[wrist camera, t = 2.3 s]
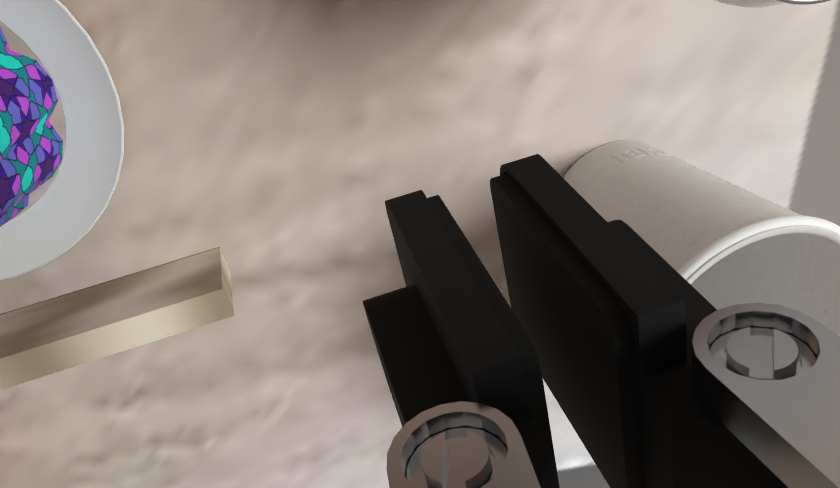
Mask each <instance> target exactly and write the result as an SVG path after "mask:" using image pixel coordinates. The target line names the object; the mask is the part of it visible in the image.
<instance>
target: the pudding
mask: <svg viewBox="0 0 840 488" xmlns="http://www.w3.org/2000/svg"><path fill="white" fill-rule="evenodd" d="M0 21H1V22H3V23H4V24H5V25H6V26H8V27H9V28H10V29H11V30H12V31H13V32H15V33H16V34H17V35H18V36H19V37H20V38H22V39H23V40H24V41H25V43H26V44H27V45H28V46H29V47H30V48H31V49H32V51H33V52H34V53H35V54H36V55H37V56H38V57H39V58H40V60H41V62H42V63H43V65H44V66H45V68H46V69H47V71H48V73H49V74H50V76H51V77H52V79H53V81H54V84H55V86H56V88H57V91H58V93H59V96H60V98H61V101H62V105H63V110H64V114H65V119H66V146H65V151H64V157H63V161H62V145H63V141H62V139H61V138H60V136H59V135H58V134H57V132H56V131H55V130H54V128H53V127H52V125H51V124H50V123H49V118H50V116H51V114H52V112H53V110H54V108H55V106H56V103H57V101H58V100H57V97H56V93H55V90H54V86H53V83H52V79H51V78H50V77H49V76H48V74H47V73H46V72H45V71H44V69H43V68H42V67H41V66H40V64H39V63H38V62H37V61H36V60H34V59H31V58H28V57H26V56H23V55H21V54H18V53H16V52H13V51H10V50H9V47H8V45H7V42H6V40H5V37H4V35H3V32H2V30H1V27H0V281H1V280H5V279H9V278H12V277H16V276H19V275H22V274H24V273H26V272H29V271H31V270H34V269H36V268H38V267H41V266H43V265H45V264H47V263H49V262H50V261H52V260H53V259H55V258H56V257H58V256H59V255H61V254H63V253H64V252H66V251H67V250H69V249H70V248H71V247H72V246H73V245H75V244H76V243H77V242H78V241H79V240H80V239H81V238H82V237H83V236H84V235H85V234H86V233H87V232H89V231H90V230H91V228H92V227H93V225H94V224H95V223H96V221H97V220H98V219H99V217H100V216H101V214H102V213H103V212H104V210H105V209H106V207H107V205H108V203H109V201H110V199H111V196H112V194H113V192H114V190H115V187H116V185H117V183H118V179H119V174H120V170H121V165H122V161H123V156H124V124H123V118H122V113H121V107H120V102H119V96H118V94H117V91H116V88H115V86H114V83H113V80H112V78H111V75H110V73H109V70H108V67H107V65H106V63H105V62H104V60H103V58H102V57H101V55H100V53H99V51H98V50H97V48H96V46H95V45H94V43H93V41H92V40H91V38H90V36H89V35H88V34H87V32H86V31H85V30H84V29H83V27H82V26H81V25H80V24H79V23H78V21H77V20H76V19H75V18H74V17H73V15H72V14H71V13H70V12H69V11H68V9H67V8H66V7H65V6H64V5H63V4H62V3H61V2H60V1H58V0H0ZM61 161H62V164H61V166H60V168H59V171H58V173H57V176H56V178H55V180H54V181H53V182H52V184H51V185H50V187H49V188H48V190H47V191H46V193H45V194H44V195H43V196H42V197H41V198H40V199H39V200H38V201H37V202H36V203H35V204H34V205H33V206H32V207H30V208H29V209H28V210H26V211H24V212H23V213H21V214H20V215H18V216H17V217H15V218H14V219H12V218H13V217H14V216H16V215H17V214H18V213H19V212H20V211H21V210H23V209H24V208H25V207H26V206H27V205H28V197H29V194H30V193H31V192H32V191H34V190H35V189H36V188H38V187H39V186H40V185H42V184H43V183H44V182H46V181H47V180H48V179H50V178H51V177H52V176H53V174H54V173H55V171H56V169H57V168H58V166H59V164H60V163H61ZM10 219H12V220H10Z"/></svg>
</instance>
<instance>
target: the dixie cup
mask: <svg viewBox="0 0 840 488" xmlns="http://www.w3.org/2000/svg"><path fill="white" fill-rule="evenodd" d="M563 178H564V179H565V180H566V181H567V182H568V183H569V184H570V185H571V186H572V187H573V188H574V189H575V190H576V191H577V192H578V193H579V194H580V195H581V196H582V197H583V198H584V199H585V200H586V201H587V202H588V203H589V204H590V205H591V206H592V207H593V208H594V209H595V210H596V211H597V212H598V213H599V214H600V215H601V216H602V217H603V218H604V219H605V220H606V221H607V222H609V221H612V220H622V221H623V222H625V223H626V224H628V225H629V226H630V227H631V228H632V229H633V230H634V231H635V232H636V233H637V234H638V235H639V236H640V237H641V238H642V239H643V240H644V241H645V242H647V243H648V244H649V245H650V246H651V247H652V248H653V249H654V250H655V251H656V252H657V253H658V254H659V255H660V256H661V257H662V258H663V259H664V260H665V261H666V262H667V263H669V264H670V265H671V266H672V267H673V268H674V269H675V270H676V271H677V272H678V273H679V274H680V275H681V276H682V277H683V278H684V279H685V280H686V281H687V282H688V283H690V284H691V285H692V286H693V287H694V288H695V289H696V290H697V291H698V292H699V293H700V294H701V295H702V296H703V297H704V298H705V299H706V300H707V301H708V302H709V303H711V304H712V305H713V306H714V307H715V308H716V309H717V310H718V309H722V308H725V307H729V306H732V305H735V304H745V303H766V304H776V305H781V306H784V307H788V308H791V309H795V310H798V311H800V312H802V313H804V314H806V315H808V316H810V317H812V318H814V319H815V320H817V321H819V322H820V323H821V324H823V325H824V326H826V327H827V328H829V329H830V330H832V331H833V332H834V333H836V334H837V335H839V336H840V227H839V226H838V225H836V224H834V223H832V222H829V221H827V220H824V219H820V218H815V217H810V216H801V215H799V214H797V213H795V212H792V211H790V210H788V209H786V208H784V207H782V206H780V205H778V204H775V203H773V202H771V201H769V200H767V199H765V198H763V197H760V196H758V195H756V194H754V193H752V192H750V191H747V190H745V189H743V188H741V187H739V186H737V185H735V184H732V183H730V182H728V181H726V180H724V179H722V178H720V177H717V176H715V175H713V174H711V173H709V172H707V171H705V170H702V169H700V168H698V167H696V166H694V165H692V164H690V163H687V162H685V161H683V160H681V159H679V158H677V157H675V156H672V155H670V154H668V153H666V152H664V151H662V150H660V149H657V148H655V147H653V146H651V145H649V144H647V143H644V142H640V141H635V140H619V141H614V142H610V143H607V144H604V145H601V146H599V147H597V148H595V149H593V150H591V151H590V152H588V153H587V154H585V155H584V156H583V157H581V158H580V159H579V160H578V161H577V162H576V163H575V164H574V165H573V166H572V167H571V168H570V169H569V170H568V171H567V173H566V174H565V175H564V177H563Z"/></svg>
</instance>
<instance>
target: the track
mask: <svg viewBox="0 0 840 488" xmlns="http://www.w3.org/2000/svg"><path fill="white" fill-rule="evenodd" d="M231 316H234V312H233V299H232V287H231V274H230V271H229V268H228V266H227V263H226V261H225V258H224V256H223V253H222V251H221V249H220V247H219V248H216V249H213V250H210V251H206V252H203V253H200V254H197V255H193V256H190V257H187V258H184V259H180V260H177V261H174V262H171V263H167V264H164V265H161V266H158V267H154V268H151V269H148V270H145V271H141V272H138V273H135V274H132V275H128V276H125V277H122V278H119V279H115V280H112V281H109V282H106V283H102V284H99V285H96V286H92V287H89V288H86V289H83V290H79V291H76V292H73V293H70V294H66V295H63V296H60V297H57V298H53V299H50V300H47V301H44V302H40V303H37V304H34V305H31V306H27V307H24V308H21V309H18V310H14V311H11V312H8V313H5V314H1V315H0V390H2V389H5V388H8V387H11V386H15V385H18V384H21V383H24V382H27V381H30V380H33V379H37V378H40V377H43V376H46V375H49V374H52V373H55V372H59V371H62V370H65V369H68V368H71V367H74V366H77V365H81V364H84V363H87V362H90V361H93V360H96V359H99V358H103V357H106V356H109V355H112V354H115V353H118V352H121V351H125V350H128V349H131V348H134V347H137V346H140V345H143V344H147V343H150V342H153V341H156V340H159V339H162V338H165V337H169V336H172V335H175V334H178V333H181V332H184V331H187V330H191V329H194V328H197V327H200V326H203V325H206V324H209V323H212V322H216V321H219V320H222V319H225V318H228V317H231Z"/></svg>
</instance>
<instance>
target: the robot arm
mask: <svg viewBox="0 0 840 488" xmlns="http://www.w3.org/2000/svg"><path fill="white" fill-rule="evenodd" d="M490 188H491V194H492V200H493V206H494V211H495V217H496V223H497V229H498V234H499V240H500V246H501V251H502V257H503V263H504V269H505V274H506V280H507V286H508V292H509V297H510V303H511V308H510V306H509V305H508V303H507V301H506V300H505V298H504V297H503V295H502V294H501V292H500V290H499V289H498V287H497V286H496V284H495V283H494V281H493V279H492V278H491V276H490V275H489V273H488V272H487V270H486V269H485V267H484V265H483V264H482V262H481V261H480V259H479V258H478V256H477V254H476V253H475V251H474V250H473V248H472V247H471V245H470V243H469V242H468V240H467V239H466V237H465V236H464V234H463V232H462V231H461V229H460V228H459V226H458V225H457V223H456V221H455V220H454V218H453V217H452V215H451V214H450V212H449V210H448V209H447V207H446V206H445V204H444V203H443V201H442V199H441V198H440V197H439V195H436V196H433V197H430V198H426V196H425V194H424V193H423V191H422V190H419V191H416V192H413V193H409V194H406V195H403V196H400V197H396V198H393V199H390V200H387V201H385V205H386V210H387V214H388V218H389V222H390V226H391V230H392V233H393V237H394V241H395V245H396V249H397V252H398V256H399V260H400V264H401V268H402V271H403V275H404V279H405V283H406V287H404V288H401V289H398V290H395V291H392V292H389V293H386V294H383V295H380V296H377V297H373V298H370V299H367V300H364V301H363V304H364V308H365V311H366V315H367V318H368V321H369V325H370V328H371V331H372V334H373V338H374V341H375V344H376V347H377V351H378V354H379V357H380V360H381V363H382V367H383V370H384V373H385V376H386V379H387V382H388V385H389V388H390V391H391V394H392V397H393V400H394V403H395V406H396V409H397V412H398V415H399V418H400V421H401V424H402V428H401V430H400V431H399V432H398V433H397V434H396V436H395V437H394V439H393V441H392V443H391V446H390V448H389V450H388V453H387V474H388V480H389V487H390V488H559V482H558V475H557V469H556V462H555V456H554V449H553V443H552V437H551V430H550V424H549V417H548V411H547V405H546V398H545V392H544V386H543V379H544V381H545V382H546V384H547V385H548V387H549V389H550V390H551V392H552V394H553V395H554V397H555V398H556V400H557V402H558V403H559V405H560V407H561V408H562V410H563V411H564V413H565V415H566V416H567V418H568V420H569V421H570V423H571V424H572V426H573V428H574V429H575V431H576V433H577V434H578V436H579V437H580V439H581V441H582V442H583V444H584V446H585V447H586V449H587V450H588V452H589V454H590V455H591V457H592V459H593V460H594V462H595V463H596V465H597V467H598V468H599V470H600V471H601V473H602V475H603V476H604V478H605V480H606V481H607V483H608V484H609V486H610V488H840V336H839V335H837V334H836V333H834V332H833V331H832V330H830V329H829V328H827V327H826V326H824V325H823V324H821V323H820V322H819V321H817V320H815V319H814V318H812V317H810V316H808V315H806V314H804V313H802V312H800V311H798V310H795V309H791V308H788V307H784V306H781V305H776V304H766V303H745V304H735V305H732V306H729V307H725V308H722V309H718V310H717V309H716V308H715V307H714V306H713V305H712V304H711V303H709V302H708V301H707V300H706V299H705V298H704V297H703V296H702V295H701V294H700V293H699V292H698V291H697V290H696V289H695V288H694V287H693V286H692V285H691V284H690V283H688V282H687V281H686V280H685V279H684V278H683V277H682V276H681V275H680V274H679V273H678V272H677V271H676V270H675V269H674V268H673V267H672V266H671V265H670V264H669V263H667V262H666V261H665V260H664V259H663V258H662V257H661V256H660V255H659V254H658V253H657V252H656V251H655V250H654V249H653V248H652V247H651V246H650V245H649V244H648V243H647V242H645V241H644V240H643V239H642V238H641V237H640V236H639V235H638V234H637V233H636V232H635V231H634V230H633V229H632V228H631V227H630V226H629V225H628V224H626V223H625V222H623V221H622V220H612V221H609V222H607V221H606V220H605V219H604V218H603V217H602V216H601V215H600V214H599V213H598V212H597V211H596V210H595V209H594V208H593V207H592V206H591V205H590V204H589V203H588V202H587V201H586V200H585V199H584V198H583V197H582V196H581V195H580V194H579V193H578V192H577V191H576V190H575V189H574V188H573V187H572V186H571V185H570V184H569V183H568V182H567V181H566V180H565V179H564V178H563V177H562V176H561V175H560V174H559V173H558V172H557V171H556V170H555V169H554V168H553V167H551V166H550V165H549V164H548V163H547V162H546V161H545V160H544V159H543V158H542V157H541V156H540V155H539V154H536V155H533V156H530V157H526V158H523V159H520V160H517V161H513V162H510V163H507V164H504V165H501V168H500V176H498V177H494V178H491V180H490ZM542 377H543V379H542Z"/></svg>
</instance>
